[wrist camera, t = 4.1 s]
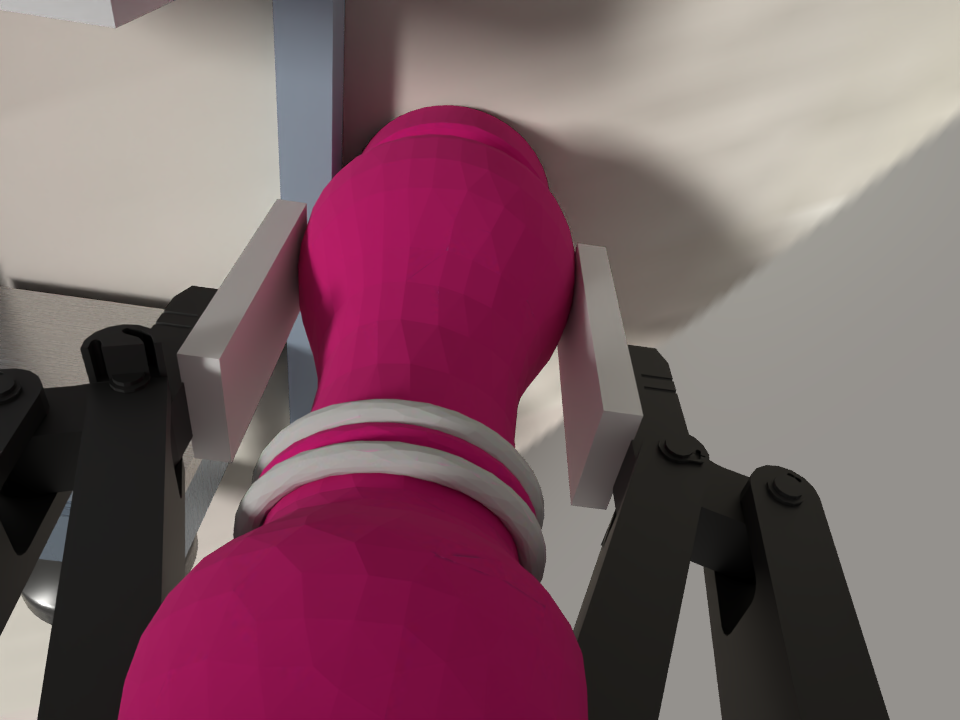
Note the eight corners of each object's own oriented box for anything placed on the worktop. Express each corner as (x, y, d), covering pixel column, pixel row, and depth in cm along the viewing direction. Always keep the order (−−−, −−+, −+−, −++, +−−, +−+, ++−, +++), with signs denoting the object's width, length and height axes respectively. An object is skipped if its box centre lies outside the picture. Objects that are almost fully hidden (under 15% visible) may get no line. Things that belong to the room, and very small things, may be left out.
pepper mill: (607, 145, 20) (950, 1277, 4) (508, 327, 24) (499, 1240, 8) (375, 43, 19) (-397, 1198, 3) (312, 255, 23) (-141, 1202, 7)
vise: (-349, -347, 15) (-1178, -529, 7) (348, -221, 15) (204, -274, 8) (-43, 370, 27) (-246, 563, 20) (337, 420, 28) (275, 623, 20)
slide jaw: (-22, 275, 24) (-254, 463, 16) (267, 314, 24) (163, 514, 17) (43, 454, 29) (-110, 654, 22) (278, 484, 30) (202, 688, 22)
